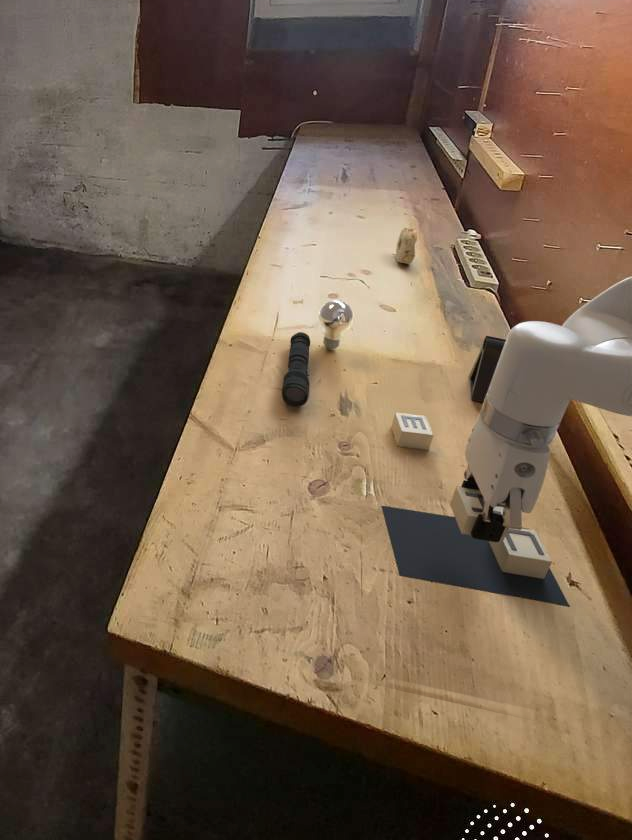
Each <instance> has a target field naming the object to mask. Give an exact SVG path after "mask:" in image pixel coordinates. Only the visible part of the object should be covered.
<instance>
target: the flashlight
mask: <svg viewBox="0 0 632 840" xmlns="http://www.w3.org/2000/svg"><path fill="white" fill-rule="evenodd" d="M289 343H290V345H289V347H290V348H289V352H288V361H287V362H288V363H287V372H286V373H285V374H284V376H283V378H282V387H281V397H282V400H283V401H284V402H285V403H286V404H287V405H288V406H291V407H299V406H300V407H301V406H304V405H305V404H306V403H307V402H308V399H309V397H310V379H309V372H308V370H309V361H310V346H311V338H310V336H309V335H308V334H307V333H305V332H302V331H299V332H296V333H295V334H293V335H292V336H290V342H289Z"/></svg>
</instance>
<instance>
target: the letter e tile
mask: <svg viewBox="0 0 632 840" xmlns="http://www.w3.org/2000/svg"><path fill="white" fill-rule="evenodd" d="M390 427H391V430H392V434H393V437H394V440H395V442H396V446H397V447H399V448H400V447H401V448H407V449H414V450H415V449H416V450H421V451H422V450H423V451H430V448H431V446H432V445H431V444H432V441H433V438H434V433H433V430H432V428H431V425H430V423H429V421H428V419H427V416H426V415H422V414H421V415H419V414H412V413H403V412H394V415H393V419H392V423H391V426H390Z"/></svg>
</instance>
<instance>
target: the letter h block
mask: <svg viewBox="0 0 632 840" xmlns="http://www.w3.org/2000/svg"><path fill="white" fill-rule="evenodd" d="M484 504H485V499H484V497H483V495H482V493H481V491H480V490H474V489H468V488H462V487H461V486H456V487H455V489H454V492H453V495H452V497H451V500H450V502H449V507H450V508H451V510H452V513H453V517H455V518H456V521H457V523H458V526H459V528H460V531H461V533H462V534H467V535H471V532H472V529H473V527H474V524H475V522H476V519H477V517H478V514H483V509H484ZM503 509H504V507H499V506H496V507H495V508H493V513H495V514H503ZM508 529H509V528H507V527H506V528H505V530H504V532H503V534H502V537H501V539H500V540H502V541H503V540H504V538H505V536H506V534H507V531H508Z"/></svg>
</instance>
